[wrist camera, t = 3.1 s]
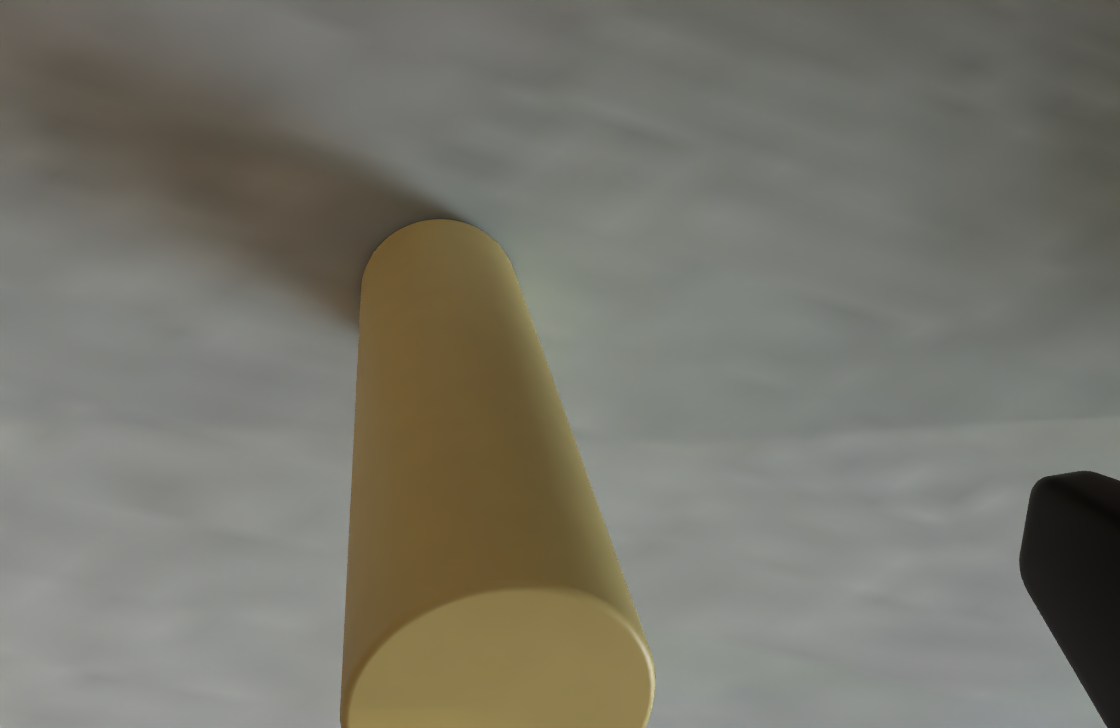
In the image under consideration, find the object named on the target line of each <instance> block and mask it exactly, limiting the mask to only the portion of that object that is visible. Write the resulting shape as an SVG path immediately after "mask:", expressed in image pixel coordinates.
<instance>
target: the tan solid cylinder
mask: <svg viewBox="0 0 1120 728" xmlns="http://www.w3.org/2000/svg"><path fill="white" fill-rule="evenodd" d="M655 683H656V676H655V668H654V662H653V658H652V655H651V652H650V649H649V646H648V643H647V640H646V637H645V635H644V632H643V629H642V626H641V623H640V621H639V618H638V615H637V612H636V610H635V607H634V604H633V601H632V598H631V596H630V593H629V590H628V587H627V584H626V582H625V579H624V576H623V573H622V570H621V568H620V565H619V562H618V559H617V557H616V554H615V551H614V548H613V545H612V543H611V540H610V537H609V534H608V531H607V529H606V526H605V523H604V520H603V518H602V515H601V512H600V509H599V506H598V504H597V501H596V498H595V495H594V492H593V490H592V487H591V484H590V481H589V478H588V476H587V473H586V470H585V467H584V465H583V462H582V459H581V456H580V453H579V451H578V448H577V445H576V442H575V439H574V437H573V434H572V431H571V428H570V425H569V423H568V420H567V417H566V414H565V412H564V409H563V406H562V403H561V400H560V398H559V395H558V392H557V389H556V386H555V384H554V381H553V378H552V375H551V372H550V370H549V367H548V364H547V361H546V359H545V356H544V353H543V350H542V347H541V345H540V342H539V339H538V336H537V333H536V331H535V328H534V325H533V322H532V319H531V317H530V314H529V311H528V308H527V306H526V303H525V300H524V297H523V294H522V292H521V289H520V286H519V283H518V280H517V278H516V275H515V272H514V269H513V267H512V264H511V262H510V260H509V258H508V256H507V255H506V253H505V252H504V250H503V249H502V248H501V247H500V245H499V244H498V243H497V242H496V241H495V240H494V239H492V238H491V237H490V236H489V235H488V234H486V233H485V232H483V231H482V230H480V229H478V228H476V227H474V226H472V225H469V224H466V223H463V222H459V221H454V220H446V219H434V220H426V221H420V222H417V223H414V224H411V225H408V226H406V227H404V228H402V229H400V230H398V231H396V232H395V233H393V234H392V235H390V236H389V237H388V238H387V239H386V240H384V241H383V242H382V243H381V245H380V246H379V247H378V248H377V249H376V250H375V252H374V253H373V255H372V256H371V258H370V260H369V262H368V264H367V266H366V268H365V271H364V274H363V279H362V284H361V303H360V323H359V343H358V363H357V383H356V403H355V423H354V443H353V464H352V484H351V504H350V524H349V544H348V564H347V584H346V604H345V624H344V644H343V664H342V685H341V706H340V722H341V728H645V727H646V725H647V722H648V719H649V717H650V714H651V710H652V705H653V701H654V696H655Z"/></svg>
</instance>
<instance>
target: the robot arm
mask: <svg viewBox="0 0 1120 728" xmlns="http://www.w3.org/2000/svg"><path fill="white" fill-rule="evenodd" d="M1019 563H1020V572H1021V577H1022V580H1023V582H1024V585H1025V587H1026V589H1027V591H1028V593H1029V595H1030V597H1031V598H1032V600H1033V602H1034V603H1035V605H1036V607H1037V609H1038V610H1039V612H1040V614H1041V615H1042V617H1043V619H1044V620H1045V622H1046V624H1047V626H1048V627H1049V629H1050V631H1051V632H1052V634H1053V636H1054V638H1055V639H1056V641H1057V643H1058V644H1059V646H1060V648H1061V649H1062V651H1063V653H1064V655H1065V656H1066V658H1067V660H1068V661H1069V663H1070V665H1071V667H1072V668H1073V670H1074V672H1075V673H1076V675H1077V677H1078V678H1079V680H1080V682H1081V684H1082V685H1083V687H1084V689H1085V690H1086V692H1087V694H1088V696H1089V697H1090V699H1091V701H1092V702H1093V704H1094V706H1095V707H1096V709H1097V711H1098V713H1099V714H1100V716H1101V718H1102V719H1103V721H1104V723H1105V724H1106V726H1107V728H1120V481H1119V480H1116V479H1113V478H1110V477H1107V476H1104V475H1101V474H1099V473H1095V472H1092V471H1077V472H1071V473H1065V474H1059V475H1053V476H1047V477H1044V478H1042V479H1040V480H1039V481H1037V482H1036V484H1035V485H1034V487H1033V488H1032V490H1031V494H1030V499H1029V504H1028V510H1027V516H1026V522H1025V528H1024V533H1023V539H1022V545H1021V551H1020V558H1019Z"/></svg>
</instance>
